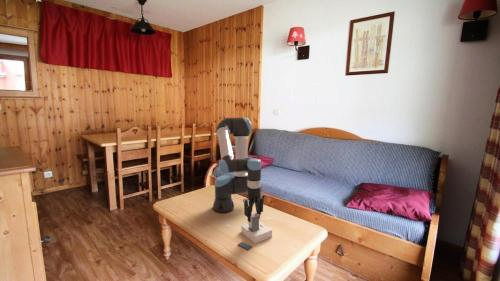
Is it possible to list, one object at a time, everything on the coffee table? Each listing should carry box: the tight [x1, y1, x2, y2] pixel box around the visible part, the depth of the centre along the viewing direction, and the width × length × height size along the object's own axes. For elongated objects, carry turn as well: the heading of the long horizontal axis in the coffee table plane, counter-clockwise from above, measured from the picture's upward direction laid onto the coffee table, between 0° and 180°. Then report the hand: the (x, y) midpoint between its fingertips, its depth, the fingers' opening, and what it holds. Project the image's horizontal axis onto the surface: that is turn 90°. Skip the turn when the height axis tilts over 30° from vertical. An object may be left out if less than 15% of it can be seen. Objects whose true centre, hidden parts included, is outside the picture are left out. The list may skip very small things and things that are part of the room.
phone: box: [237, 241, 253, 251], centre depth 131 cm, size 7×4×1 cm, turn 52°
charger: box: [249, 213, 260, 232], centre depth 139 cm, size 4×4×10 cm
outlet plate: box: [240, 220, 273, 244], centre depth 142 cm, size 14×12×4 cm
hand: (253, 225), depth 140 cm, fingers closed on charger, 4 cm apart
